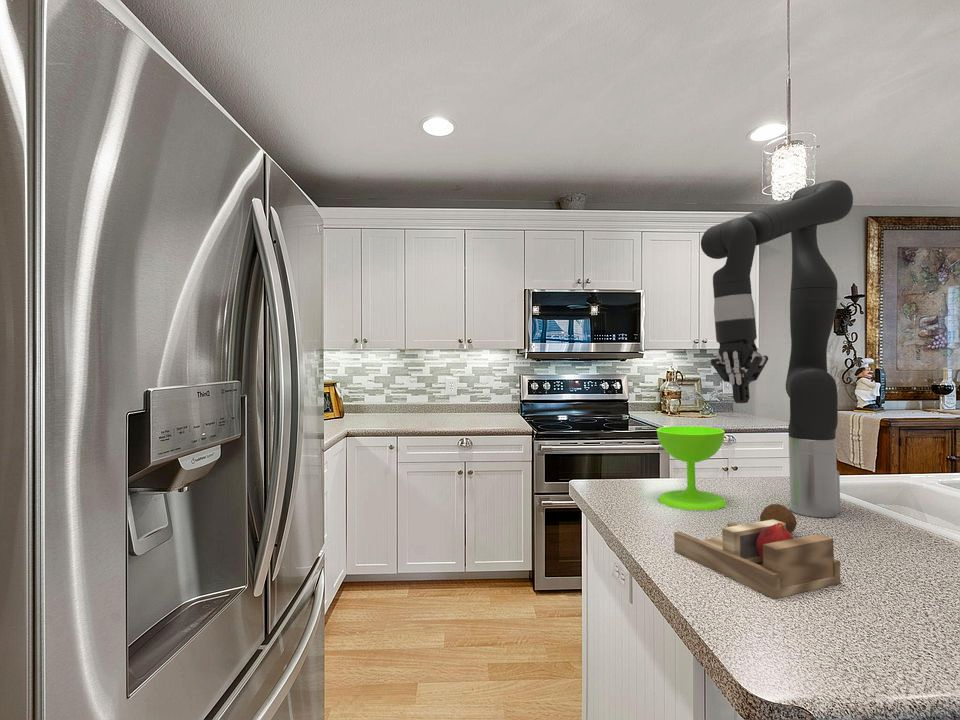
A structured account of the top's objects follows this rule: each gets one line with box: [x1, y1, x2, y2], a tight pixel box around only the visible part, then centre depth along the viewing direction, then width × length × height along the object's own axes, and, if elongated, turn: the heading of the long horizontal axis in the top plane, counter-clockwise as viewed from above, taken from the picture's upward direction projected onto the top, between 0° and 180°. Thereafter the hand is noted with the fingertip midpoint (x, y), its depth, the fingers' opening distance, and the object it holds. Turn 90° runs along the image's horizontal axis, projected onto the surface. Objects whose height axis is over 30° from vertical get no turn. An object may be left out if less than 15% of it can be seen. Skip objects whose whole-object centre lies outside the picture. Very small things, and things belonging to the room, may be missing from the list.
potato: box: [759, 503, 798, 535], centre depth 109 cm, size 7×10×6 cm
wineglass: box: [656, 425, 727, 511], centre depth 135 cm, size 16×16×18 cm
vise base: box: [673, 522, 841, 600], centre depth 93 cm, size 14×22×7 cm, turn 20°
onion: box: [756, 522, 794, 558], centre depth 88 cm, size 6×6×8 cm
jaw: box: [721, 519, 786, 563], centre depth 92 cm, size 12×2×6 cm, turn 110°
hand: (741, 402), depth 110 cm, fingers closed
